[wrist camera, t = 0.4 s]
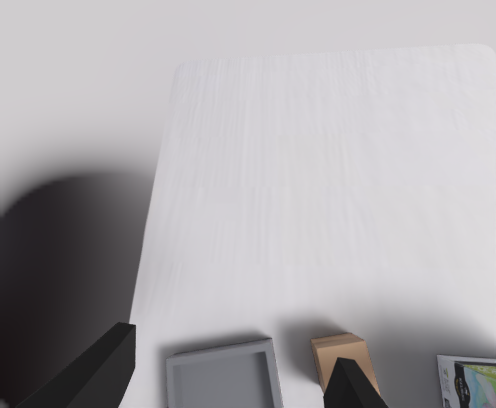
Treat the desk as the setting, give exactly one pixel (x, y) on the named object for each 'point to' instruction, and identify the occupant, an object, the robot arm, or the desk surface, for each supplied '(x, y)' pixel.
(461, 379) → the tea box
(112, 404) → the robot arm
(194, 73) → the desk surface
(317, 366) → the block
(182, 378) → the tray
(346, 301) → the desk surface
